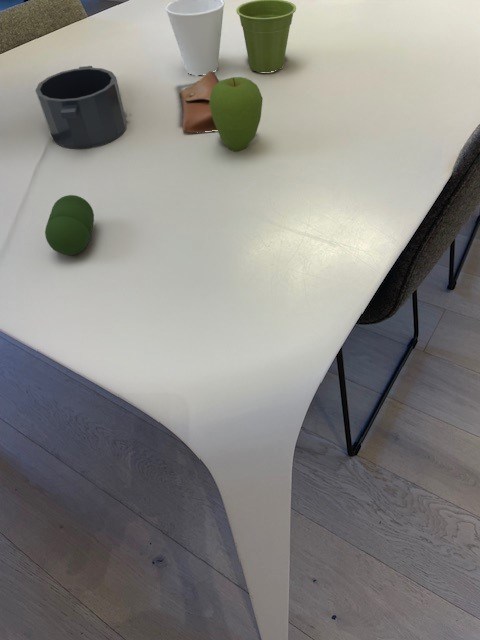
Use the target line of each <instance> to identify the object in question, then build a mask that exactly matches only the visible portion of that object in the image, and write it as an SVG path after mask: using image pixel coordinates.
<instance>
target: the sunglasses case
mask: <svg viewBox="0 0 480 640" xmlns="http://www.w3.org/2000/svg"><path fill="white" fill-rule="evenodd" d="M218 82H220V80H219V79H218V77H217V74H215V72H214V73H213V72H212V71H209V72H208V73H207V74H206V75H204V76H201V78H200V79H199V80H197V81H196V82H194V83H192V84H190V85H189V86H186V88H184V89H182V90H181V91H180V92H179V93H178V94H179V97H180V101H181V104H182V105H181V107H182V132H183V133H187V134H200V133H199V132H205V131H212V130H217V128H216V126H215V123H214V121H213V117H212V113H211V109H210V105H209V101H210V95H211V91H212V89H213V87H214V86H215V85H216V84H217V83H218ZM197 132H198V133H197Z"/></svg>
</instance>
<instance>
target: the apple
mask: <svg viewBox="0 0 480 640" xmlns="http://www.w3.org/2000/svg"><path fill="white" fill-rule="evenodd" d="M263 99H264V98H263V96H262V93H261V91H260V88H259V86H258V85H257V84H256V83H255V82H254V81H252V80H251V79H249V78H247V77H243V76H233V77H229V78H225V79H222V80H219V82H218V83H217V84H216V85H215V86H214V87H213V89H212V91H211V95H210V101H209V105H210V109H211V113H212V117H213V121H214V123H215V126H216V128H217V130H218V132H217V134H218V135H219V137H220V140H221V141H222V142H223V144H224V145H226V147H227V148H228V149H229V150H231V151H232V150H233V151H232V152H239V151H243V150H244V149H246V148H247V147H248V146H249V145H250V144H251V142H252V141H254V139H255V137H256V134H257V131H258V128H259V125H260V122H261V118H262V109H263V101H264V100H263Z"/></svg>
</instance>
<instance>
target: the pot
mask: <svg viewBox="0 0 480 640" xmlns="http://www.w3.org/2000/svg"><path fill="white" fill-rule="evenodd" d="M118 83H119V82H118V79H117V76H116V75H115V74H114V73H113V71H110V70H108V69H105V68H101V67H93V66H92V65H87V66H79V67H78V68H73V69H68V70H63V71H60V72H58V73H54V74H52V75H49V76H48V77H46V78H45V79H43V80H41V82H39V83H38V85H37V86H36V88H35V90H34V91H35V94H36V97H37V99H38V102H39V105H40V108H41V111H42V113H43V116H44V119H45V122H46V125H47V127H48V130H49V132H50V135H51V137H52V140H53V141H54V144H56V145H58V146H59V147H62V148H65V149H70V150H87V149H93V148H97V147H102V146H105V145H108V144H109V143H111V142H113V141H115V140H117V139H119V138H120V137H121V136H122V135H123V134H124V133H125V131H126V130H127V126H128V124H127V122H128V121H127V116H126V113H125V108H124V104H123V100H122V95H121V92H120V87H119V84H118Z"/></svg>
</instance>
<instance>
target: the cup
mask: <svg viewBox="0 0 480 640" xmlns="http://www.w3.org/2000/svg"><path fill="white" fill-rule="evenodd" d="M224 7H225V1H224V0H173V1H170V2H169V3H167V4H166V6H165V9H164V10H165V12H166V13H167V17H168V21H169V22H170V25H171V29H172V31H173V34H174V37H175V41H176V44H177V46H178V49H179V52H180V53H179V54H180V56H181V58H182V62H183V64H184V65H183V66H184V68H185V71H186V73H187V74H188V73H189V74H188V75H190V74H193V75H203V74H207V73H208V72H209V71H212V72H213V71H215V70H216V69H217V68H218V69H219V60H220V50H221V49H220V48H221V39H222V29H223V18H224V17H223V16H224ZM218 69H217V70H218ZM193 75H192V76H193Z"/></svg>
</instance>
